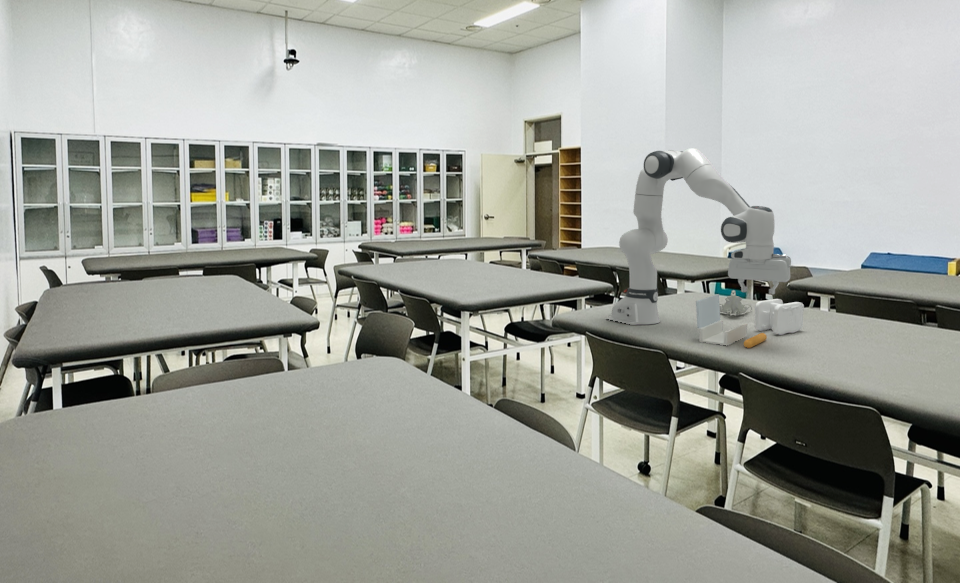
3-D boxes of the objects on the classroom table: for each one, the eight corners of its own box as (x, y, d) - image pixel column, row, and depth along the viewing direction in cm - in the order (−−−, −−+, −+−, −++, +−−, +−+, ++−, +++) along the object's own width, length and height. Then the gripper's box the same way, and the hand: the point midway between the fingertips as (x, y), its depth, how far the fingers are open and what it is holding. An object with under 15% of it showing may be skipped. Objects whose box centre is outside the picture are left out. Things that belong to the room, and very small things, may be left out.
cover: (699, 328, 229) (697, 328, 229) (720, 320, 242) (718, 320, 242) (698, 301, 228) (695, 300, 228) (719, 294, 241) (716, 294, 241)
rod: (742, 348, 220) (742, 339, 220) (759, 339, 232) (759, 331, 231) (750, 349, 218) (751, 341, 218) (767, 341, 230) (768, 332, 229)
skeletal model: (751, 310, 285) (756, 278, 265) (751, 328, 280) (756, 297, 260) (713, 308, 290) (715, 277, 270) (712, 326, 285) (714, 295, 266)
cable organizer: (779, 326, 251) (780, 297, 249) (803, 331, 242) (805, 301, 240) (753, 331, 244) (754, 301, 242) (777, 336, 235) (779, 305, 233)
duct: (699, 342, 230) (699, 328, 229) (720, 333, 243) (720, 320, 242) (726, 346, 223) (727, 332, 222) (746, 336, 236) (747, 323, 235)
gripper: (794, 253, 215) (792, 294, 217) (733, 251, 229) (732, 289, 231) (787, 255, 210) (786, 296, 213) (726, 252, 224) (725, 291, 227)
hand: (757, 292), depth 222 cm, fingers open, 8 cm apart
